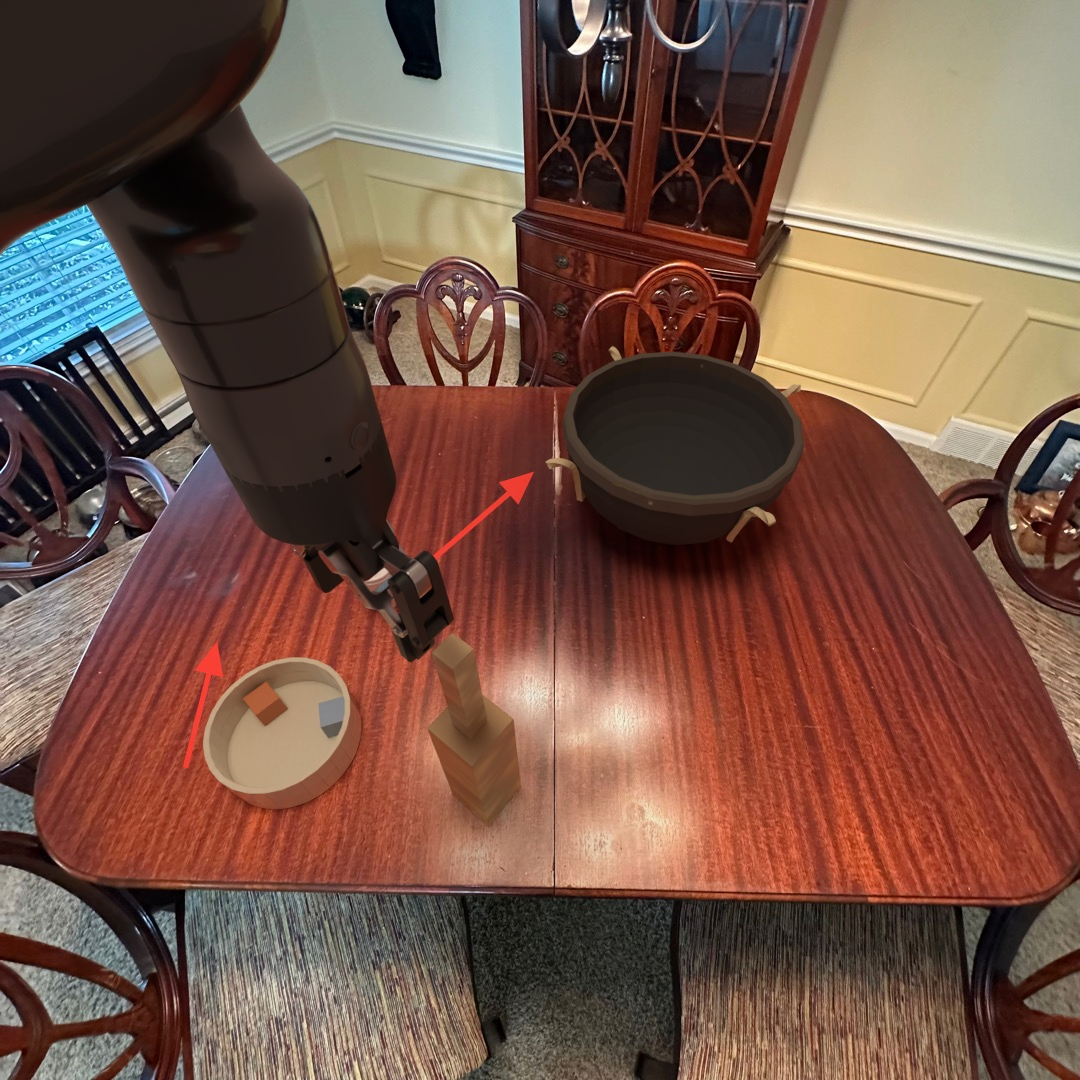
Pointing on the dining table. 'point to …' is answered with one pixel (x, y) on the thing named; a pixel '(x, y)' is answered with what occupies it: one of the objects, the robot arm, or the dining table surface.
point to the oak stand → (479, 761)
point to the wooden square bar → (460, 684)
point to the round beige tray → (281, 736)
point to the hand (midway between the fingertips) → (375, 615)
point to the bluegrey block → (332, 716)
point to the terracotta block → (265, 703)
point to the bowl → (680, 445)
